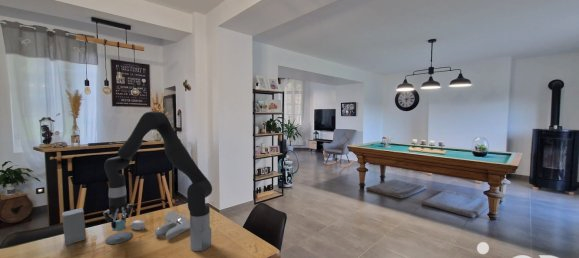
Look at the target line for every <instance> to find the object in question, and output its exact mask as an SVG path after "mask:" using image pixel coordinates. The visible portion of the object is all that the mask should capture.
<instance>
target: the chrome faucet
mask: <svg viewBox="0 0 579 258" xmlns="http://www.w3.org/2000/svg"><path fill="white" fill-rule="evenodd" d="M164 221H165V222H166V223H165V224H163V225H161V226H158V227H157V228H155V230H154V235H155V236H156V237H157V238H162V237H165V239H167V240H171V239H173V238H175V237H177V236H178V235H180V234H182V233H184V232H186V231H188V230H190V220H189V219H187V217H185V216H183V215H182V214H179V213H178V212H176V211H174V210H171V211H169V212H167V213H166V214H165V216H164Z"/></svg>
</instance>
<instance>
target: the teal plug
mask: <svg viewBox="0 0 579 258" xmlns="http://www.w3.org/2000/svg"><path fill="white" fill-rule="evenodd" d="M111 229H112V231H114V232H122V231H123V230H124V231H125V230H127V225H126V223H125V220H121V219H117V220H116V228H115V229H114V228H112V227H111Z"/></svg>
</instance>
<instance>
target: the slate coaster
mask: <svg viewBox="0 0 579 258" xmlns="http://www.w3.org/2000/svg"><path fill="white" fill-rule="evenodd" d="M133 237H134V234H133V232H131V231H119V232H117V233H114V234H112V235H109V236H107V238H105V240H104V241H105V242H104V243H105V244H107V245H118V244H122V243H125V242H127V241H129V240H131V239H132V238H133Z"/></svg>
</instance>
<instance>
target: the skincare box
mask: <svg viewBox="0 0 579 258" xmlns="http://www.w3.org/2000/svg"><path fill="white" fill-rule="evenodd" d="M61 214H62V226H63V236H64V244H65V246H68V245H72V244H74V243H78V242H81V241H85V240H87V236H86V235H87V234H86V233H87V232H86V223H85V221H86V220H85V211H84V209H83V207H80V208H76V209H72V210H67V211H63V212H62V213H61Z"/></svg>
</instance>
